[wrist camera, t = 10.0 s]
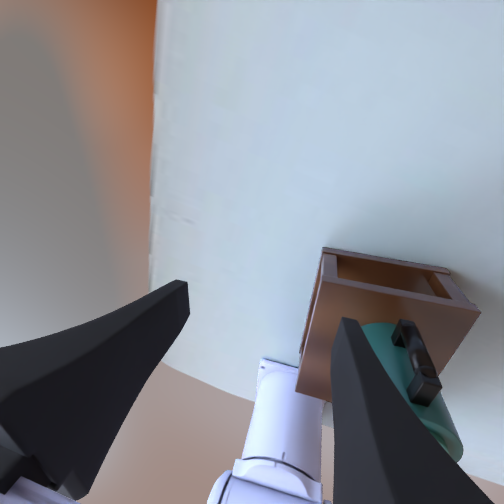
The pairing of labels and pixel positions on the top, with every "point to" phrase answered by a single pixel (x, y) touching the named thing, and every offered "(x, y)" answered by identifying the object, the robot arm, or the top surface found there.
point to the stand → (379, 309)
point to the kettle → (415, 378)
